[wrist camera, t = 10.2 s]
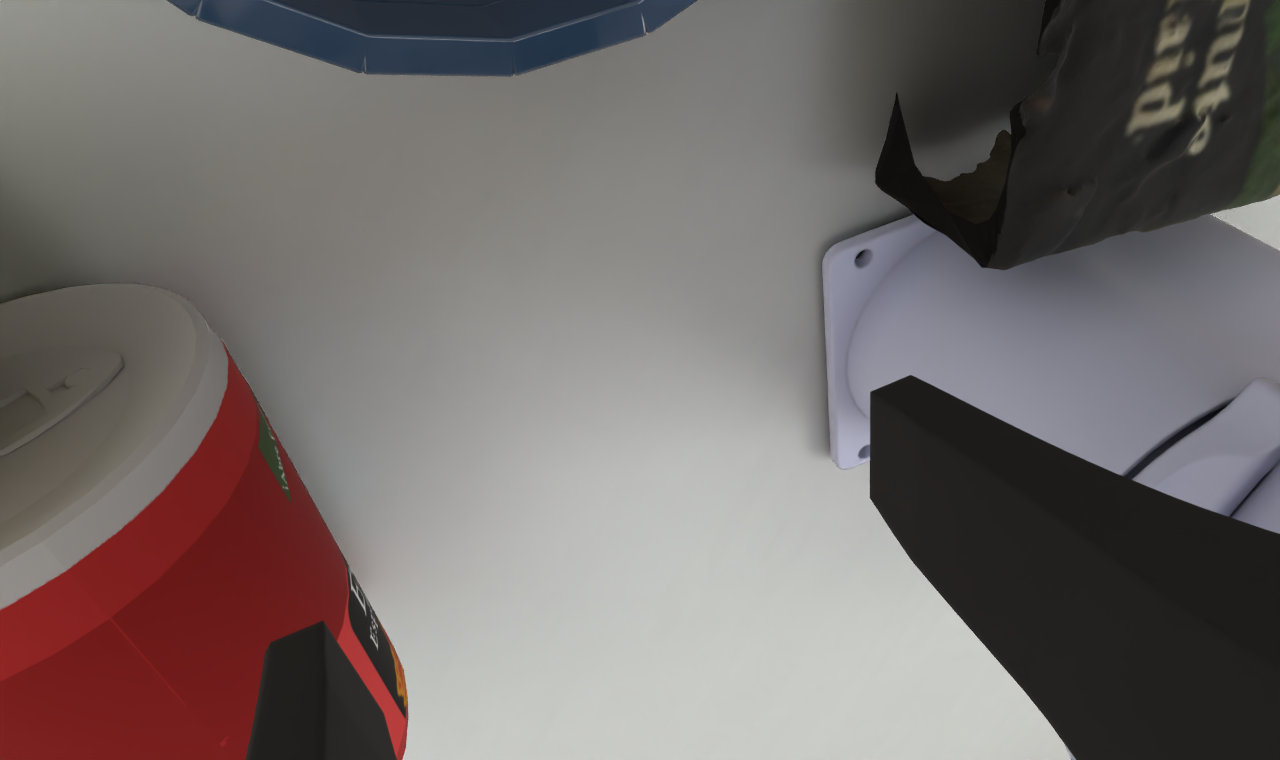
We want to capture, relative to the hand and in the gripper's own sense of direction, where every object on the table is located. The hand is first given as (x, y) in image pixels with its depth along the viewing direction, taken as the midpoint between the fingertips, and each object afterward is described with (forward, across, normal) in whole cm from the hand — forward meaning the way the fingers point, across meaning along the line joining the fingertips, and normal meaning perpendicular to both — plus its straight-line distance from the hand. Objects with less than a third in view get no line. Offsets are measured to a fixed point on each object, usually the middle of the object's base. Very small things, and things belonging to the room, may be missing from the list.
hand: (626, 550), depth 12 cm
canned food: (+7, +9, +10) cm, 15 cm away
